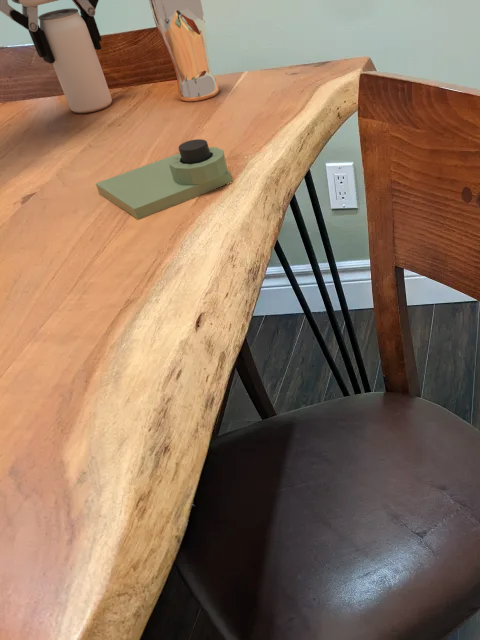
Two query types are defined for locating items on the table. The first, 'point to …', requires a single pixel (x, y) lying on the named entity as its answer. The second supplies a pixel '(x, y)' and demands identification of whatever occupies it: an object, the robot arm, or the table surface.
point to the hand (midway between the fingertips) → (72, 53)
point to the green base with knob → (165, 183)
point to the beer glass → (186, 46)
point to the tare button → (194, 151)
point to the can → (75, 61)
